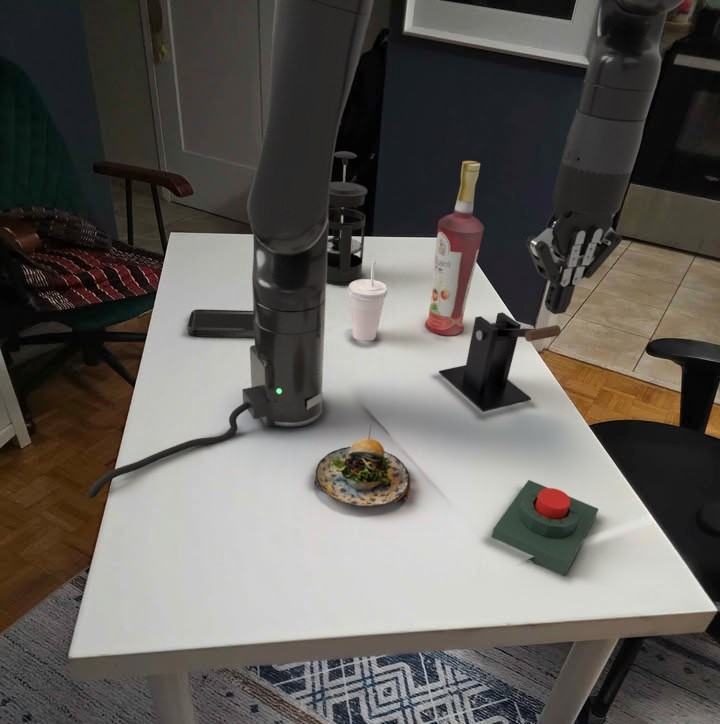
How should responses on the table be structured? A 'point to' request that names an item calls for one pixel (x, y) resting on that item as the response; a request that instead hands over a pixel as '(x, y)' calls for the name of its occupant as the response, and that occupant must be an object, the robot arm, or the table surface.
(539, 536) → the green piece
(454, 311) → the liquor
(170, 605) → the table surface
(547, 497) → the power button
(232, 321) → the phone
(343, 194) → the french press
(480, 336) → the black stand
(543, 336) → the toast lever
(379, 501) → the burger
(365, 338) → the smoothie
